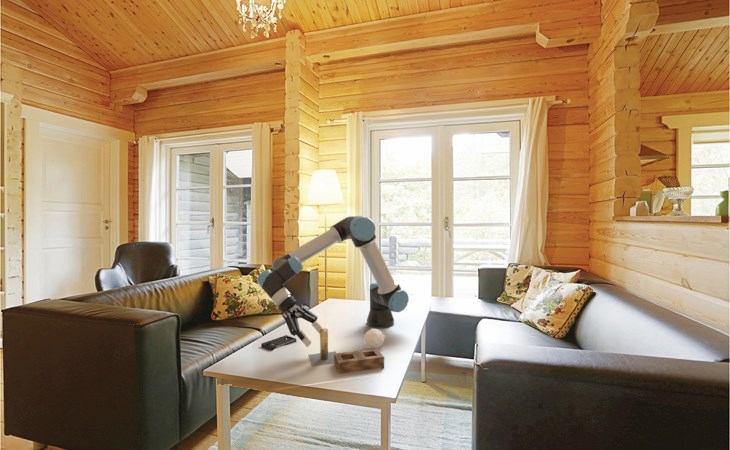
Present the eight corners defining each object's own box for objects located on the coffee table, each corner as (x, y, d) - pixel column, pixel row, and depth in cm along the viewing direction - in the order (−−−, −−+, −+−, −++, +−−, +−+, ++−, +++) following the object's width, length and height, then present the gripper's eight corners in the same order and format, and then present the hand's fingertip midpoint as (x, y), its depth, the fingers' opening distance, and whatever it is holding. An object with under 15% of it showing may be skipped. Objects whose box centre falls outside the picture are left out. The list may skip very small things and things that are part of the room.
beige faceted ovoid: (377, 350, 146) (392, 345, 155) (373, 328, 148) (388, 324, 158) (362, 352, 151) (377, 347, 160) (358, 331, 153) (373, 327, 163)
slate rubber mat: (335, 352, 149) (335, 351, 149) (341, 363, 137) (341, 362, 137) (308, 355, 145) (308, 354, 145) (311, 367, 134) (311, 366, 134)
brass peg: (327, 356, 143) (327, 328, 143) (328, 359, 140) (328, 330, 140) (319, 357, 142) (319, 328, 142) (320, 360, 139) (320, 331, 139)
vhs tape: (271, 351, 151) (271, 347, 151) (261, 347, 156) (261, 343, 156) (296, 342, 162) (296, 338, 162) (286, 339, 167) (286, 335, 167)
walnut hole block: (377, 359, 141) (376, 348, 141) (384, 368, 132) (384, 356, 132) (334, 364, 136) (334, 353, 136) (338, 374, 127) (338, 362, 127)
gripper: (293, 299, 158) (323, 335, 154) (262, 314, 134) (296, 356, 130) (303, 289, 157) (334, 324, 152) (274, 301, 133) (309, 343, 129)
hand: (317, 339), depth 141 cm, fingers open, 13 cm apart
